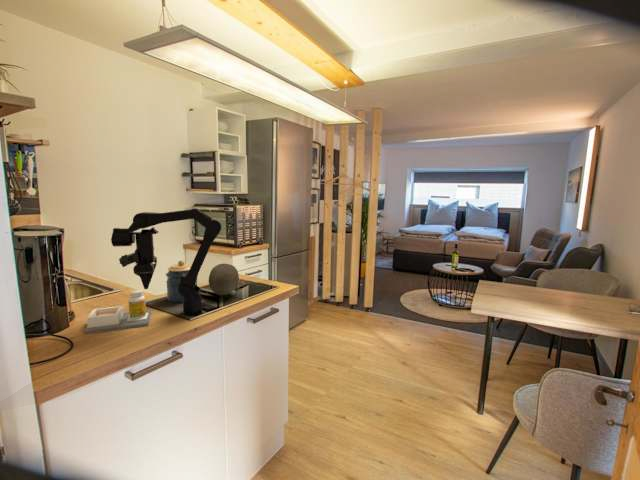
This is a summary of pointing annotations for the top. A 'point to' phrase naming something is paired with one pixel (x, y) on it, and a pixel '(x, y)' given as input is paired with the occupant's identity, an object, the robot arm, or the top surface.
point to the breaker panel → (112, 320)
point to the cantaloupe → (223, 279)
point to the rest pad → (137, 319)
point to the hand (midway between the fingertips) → (147, 285)
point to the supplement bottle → (137, 304)
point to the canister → (176, 280)
